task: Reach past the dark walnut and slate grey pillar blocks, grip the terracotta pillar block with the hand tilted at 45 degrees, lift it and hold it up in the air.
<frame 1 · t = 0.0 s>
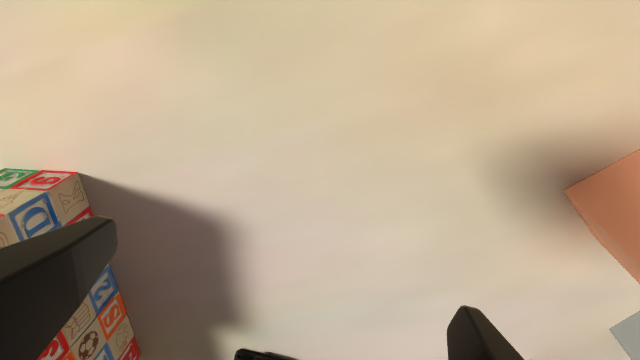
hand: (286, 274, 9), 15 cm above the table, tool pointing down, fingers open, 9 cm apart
terracotta block: (620, 195, 22), on the table
stack of blocks: (85, 272, 32), on the table
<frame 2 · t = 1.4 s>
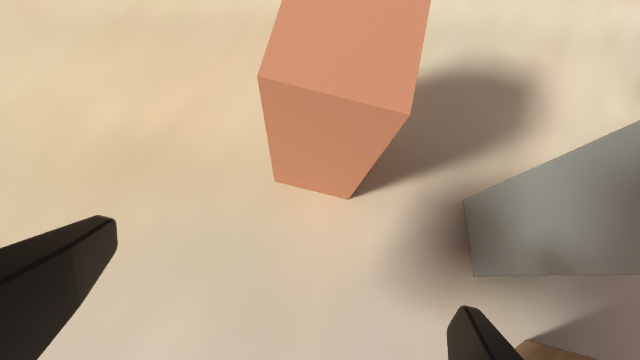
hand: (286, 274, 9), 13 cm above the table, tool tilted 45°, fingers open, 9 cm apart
terracotta block: (320, 155, 24), on the table
slate grey block: (504, 236, 23), on the table
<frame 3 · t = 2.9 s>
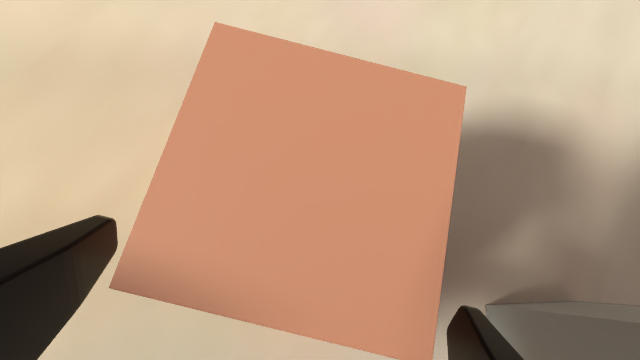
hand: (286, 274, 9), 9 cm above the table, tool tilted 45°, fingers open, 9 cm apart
terracotta block: (296, 246, 18), on the table
slate grey block: (541, 356, 17), on the table
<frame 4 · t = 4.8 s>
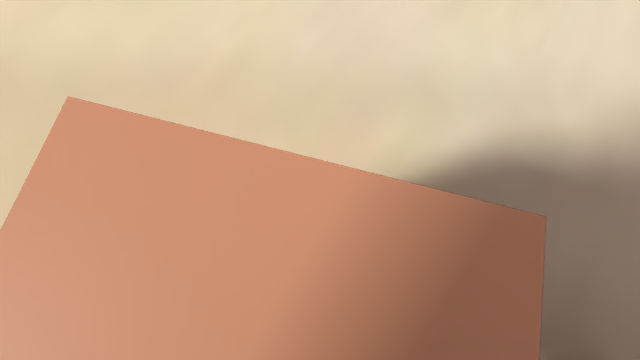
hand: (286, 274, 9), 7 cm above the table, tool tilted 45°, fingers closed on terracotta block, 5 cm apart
terracotta block: (279, 308, 15), on the table, touching gripper
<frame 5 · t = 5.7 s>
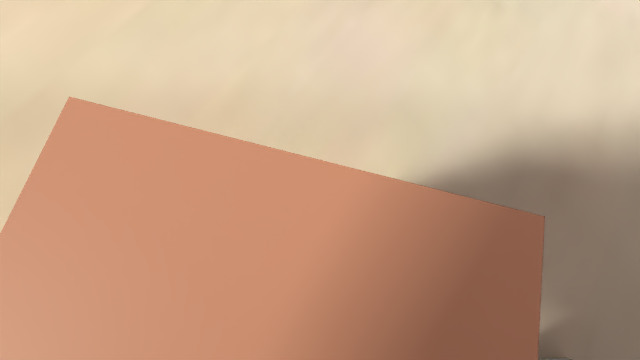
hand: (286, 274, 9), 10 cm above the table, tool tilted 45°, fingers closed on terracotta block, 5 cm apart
terracotta block: (279, 308, 15), point 3 cm above the table, touching gripper
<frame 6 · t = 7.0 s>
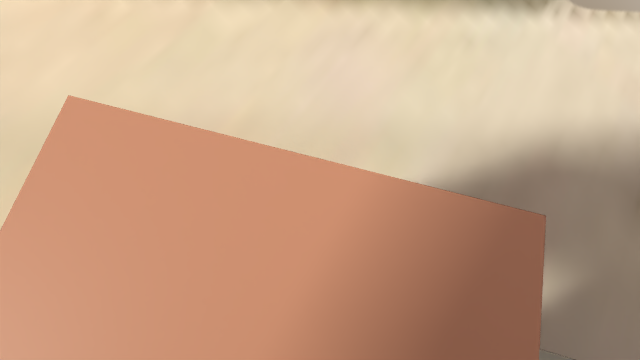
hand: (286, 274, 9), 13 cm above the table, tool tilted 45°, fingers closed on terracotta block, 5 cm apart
terracotta block: (279, 308, 15), point 7 cm above the table, touching gripper
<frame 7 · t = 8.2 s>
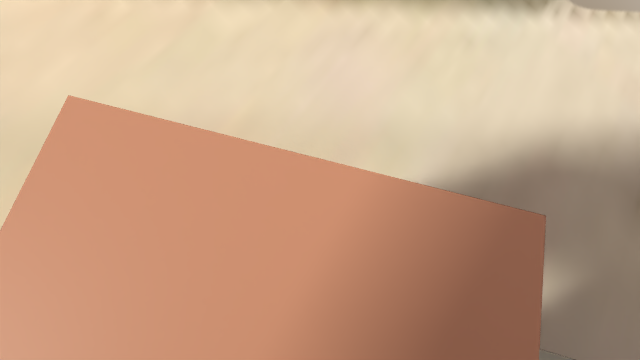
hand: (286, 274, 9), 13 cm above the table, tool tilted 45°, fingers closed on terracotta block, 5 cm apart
terracotta block: (279, 308, 15), point 7 cm above the table, touching gripper
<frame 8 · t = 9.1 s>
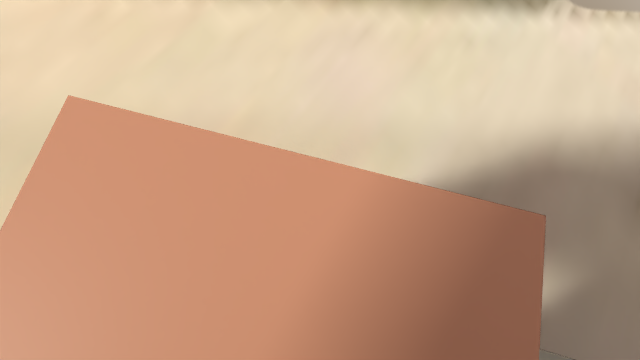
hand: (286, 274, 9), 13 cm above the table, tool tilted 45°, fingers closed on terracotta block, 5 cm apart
terracotta block: (279, 308, 15), point 7 cm above the table, touching gripper
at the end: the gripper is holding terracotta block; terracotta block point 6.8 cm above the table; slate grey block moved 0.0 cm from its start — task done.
